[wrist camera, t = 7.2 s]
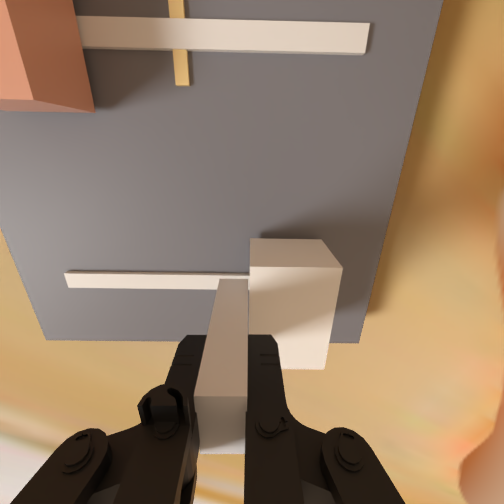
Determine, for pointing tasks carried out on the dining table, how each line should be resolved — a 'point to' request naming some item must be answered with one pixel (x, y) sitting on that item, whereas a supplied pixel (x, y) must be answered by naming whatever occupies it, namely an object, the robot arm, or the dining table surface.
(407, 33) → the slider panel
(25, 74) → the fader
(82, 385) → the dining table surface
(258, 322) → the fader
